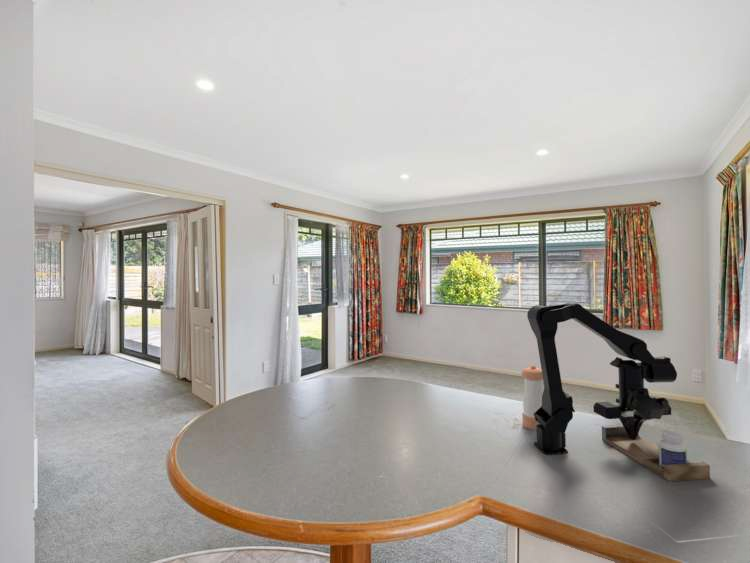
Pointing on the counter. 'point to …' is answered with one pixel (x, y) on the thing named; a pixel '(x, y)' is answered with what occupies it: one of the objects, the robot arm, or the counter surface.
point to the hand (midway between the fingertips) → (632, 439)
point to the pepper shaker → (532, 395)
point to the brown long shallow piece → (652, 455)
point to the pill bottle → (671, 449)
